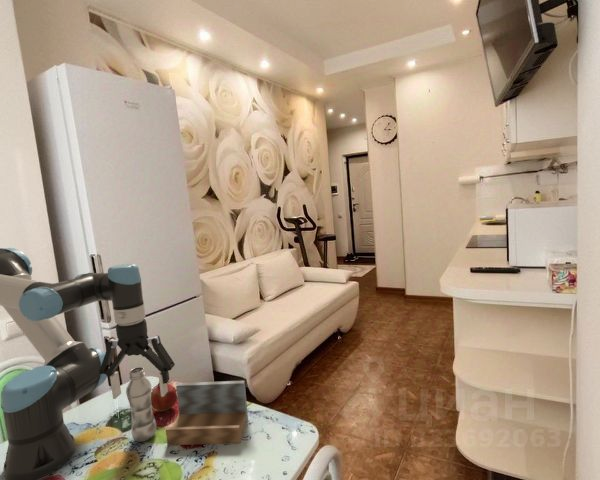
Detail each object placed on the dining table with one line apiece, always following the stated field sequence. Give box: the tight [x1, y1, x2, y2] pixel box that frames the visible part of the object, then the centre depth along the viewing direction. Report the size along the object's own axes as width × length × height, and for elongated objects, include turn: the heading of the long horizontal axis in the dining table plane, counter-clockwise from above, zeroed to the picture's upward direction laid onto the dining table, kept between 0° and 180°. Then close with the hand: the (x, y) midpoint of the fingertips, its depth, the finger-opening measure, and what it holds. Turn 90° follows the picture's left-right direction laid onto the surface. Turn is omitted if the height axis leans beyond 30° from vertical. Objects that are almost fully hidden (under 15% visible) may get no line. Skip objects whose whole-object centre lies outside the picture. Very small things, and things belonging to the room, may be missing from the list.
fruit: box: [151, 382, 178, 412], centre depth 111 cm, size 8×8×10 cm
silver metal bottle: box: [125, 366, 157, 443], centre depth 97 cm, size 6×7×20 cm
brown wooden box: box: [165, 380, 249, 446], centre depth 98 cm, size 20×10×12 cm, turn 87°
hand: (140, 395), depth 97 cm, fingers open, 13 cm apart
